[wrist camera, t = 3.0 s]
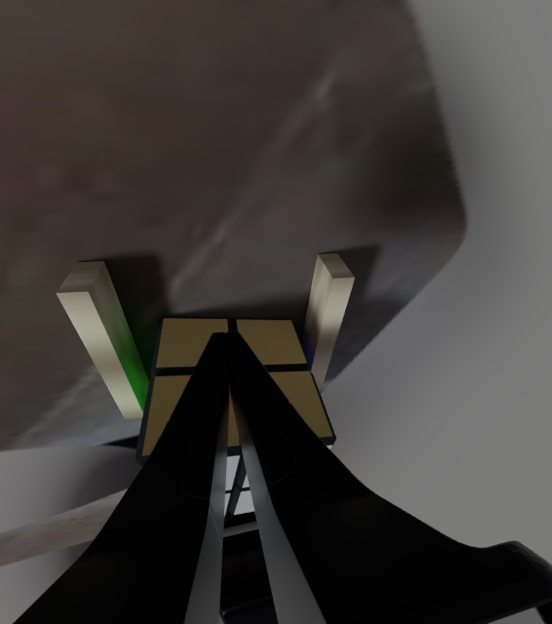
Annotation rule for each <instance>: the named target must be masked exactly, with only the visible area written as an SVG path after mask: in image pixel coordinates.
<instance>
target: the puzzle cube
mask: <svg viewBox="0 0 552 624" xmlns="http://www.w3.org/2000/svg"><path fill="white" fill-rule="evenodd" d="M227 331H238V332H239V333H240V334H241V335H242V337H243V338H244V339H245V341H246V342H247V344H248V345H249V346H250V348H251V349H252V350H253V352H254V353H255V355H256V356H257V357H258V359H259V360H260V361H261V363H262V364H263V365H264V367H265V368H266V370H267V371H268V372H269V374H270V375H271V376H272V378H273V379H274V381H275V382H276V383H277V385H278V386H279V387H280V389H281V390H282V391H283V393H284V394H285V396H286V397H287V398H288V400H289V401H290V402H289V403H291V404H292V405H293V406H294V408H295V409H296V410H297V412H298V413H299V414H300V416H301V417H302V418H303V420H304V421H305V422H306V423H307V425H308V426H309V427H310V428H311V429H312V430H313V432H314V433H315V434H316V435H317V436H318V437H319V438H320V439H321V441H322V442H323V443H324V444H325V445H326V446H327V447H328V448H329V449H331V447H332V446H333V444H334V442H335V440H336V436H335V433H334V431H333V428H332V425H331V422H330V419H329V417H328V414H327V411H326V408H325V406H324V403H323V400H322V397H321V395H320V392H319V389H318V386H317V384H316V381H315V378H314V375H313V374H312V373H311V372H310V371H309V368H310V364H309V361H308V359H307V356H306V353H305V350H304V348H303V345H302V342H301V340H300V337H299V334H298V332H297V329H296V326H295V323H294V322H293V321H292V320H243V319H236V320H234V321H233V322H232V323H231V322H230V321H229V320H228V319H184V318H163V319H162V320H161V321H159V325H158V331H157V337H156V343H155V349H154V354H153V360H152V366H151V379H150V380H149V384H148V390H147V396H146V401H145V407H144V412H143V418H142V423H141V429H140V434H139V440H138V446H137V451H136V457H135V463H136V467H137V470H138V473H139V471H140V470H141V468H142V466H143V465H144V463H145V462H146V460H147V458H148V457H149V455H150V453H151V452H152V450H153V448H154V446H155V445H156V443H157V441H158V439H159V437H160V435H161V434H162V432H163V430H164V428H165V426H166V424H167V422H168V420H170V416H171V414H172V412H173V410H174V408H175V406H176V404H177V402H178V400H179V398H180V396H181V394H182V392H183V390H184V388H185V386H186V384H187V382H188V380H189V378H190V376H191V374H192V372H193V370H194V368H195V366H196V365H197V363H198V361H199V359H200V357H201V355H202V353H203V351H204V349H205V347H206V345H207V343H208V341H209V339H210V337H211V335H212V333H214V332H225V334H226V332H227ZM229 388H230V386H229ZM228 511H230V512H231V513H232V514H233V515H237V514H242V513H248V512H254V511H255V510H254V505H253V501H252V496H251V491H250V486H249V482H248V477H247V472H246V468H245V463H244V458H243V453H242V449H241V444H240V439H239V434H238V430H237V425H236V420H235V416H234V411H233V406H232V401H231V396H230V408H229V428H228V448H227V468H226V488H225V508H224V517H225V515H226V514H227V513H228Z"/></svg>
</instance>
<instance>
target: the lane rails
mask: <svg viewBox="0 0 552 624" xmlns="http://www.w3.org/2000/svg"><path fill="white" fill-rule="evenodd" d="M354 280H355V277H354V275H353V274H352V273H351V271H350V270H349V268H348V267H347V266H346V264H345V263H344V262H343V260H342V259H341V258H340V256H339V255H338V254H337V253H329V254H317V260H316V265H315V271H314V276H313V281H312V287H311V292H310V298H309V303H308V309H307V314H306V320H305V325H304V330H303V336H302V341H301V342H302V345H303V348H304V350H305V353H306V356H307V359H308V361H309V364H310V368H309V371H310V372H311V373H312V374H313V375H314V378H315V381H316V384H317V386H318V389H319V392H320V393H321V390H322V387H323V383H324V380H325V377H326V373H327V370H328V366H329V363H330V360H331V356H332V353H333V350H334V346H335V343H336V340H337V336H338V333H339V330H340V326H341V323H342V320H343V316H344V313H345V310H346V306H347V303H348V300H349V296H350V293H351V290H352V286H353V283H354ZM56 294H57V296H58V298H59V299H60V301H61V303H62V305H63V307H64V309H65V310H66V312H67V314H68V316H69V318H70V320H71V321H72V323H73V325H74V327H75V329H76V330H77V332H78V334H79V336H80V338H81V340H82V341H83V343H84V345H85V347H86V349H87V351H88V352H89V354H90V356H91V358H92V360H93V362H94V363H95V365H96V367H97V369H98V371H99V373H100V374H101V376H102V378H103V380H104V382H105V383H106V385H107V387H108V389H109V391H110V393H111V394H112V396H113V398H114V400H115V402H116V404H117V405H118V407H119V409H120V411H121V413H122V415H123V416H124V418H125V420H127V419H134V418H142V417H143V412H144V407H145V401H146V396H147V390H148V384H149V380H148V377H147V374H146V372H145V369H144V366H143V364H142V361H141V358H140V356H139V353H138V350H137V348H136V345H135V342H134V339H133V337H132V334H131V331H130V329H129V326H128V323H127V321H126V318H125V315H124V313H123V310H122V307H121V305H120V302H119V299H118V297H117V294H116V291H115V289H114V286H113V283H112V281H111V278H110V275H109V273H108V270H107V267H106V265H105V262H104V261H97V262H77V263H76V265H75V266H74V268H73V269H72V271H71V272H70V274H69V275H68V276H67V278H66V279H65V281H64V282H63V284H62V285H61V287H60V288H59V290H58V291H57V293H56Z"/></svg>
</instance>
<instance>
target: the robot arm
mask: <svg viewBox="0 0 552 624" xmlns="http://www.w3.org/2000/svg"><path fill="white" fill-rule="evenodd" d="M229 386H230V388H229ZM230 396H231V401H232V406H233V411H234V416H235V420H236V425H237V430H238V434H239V439H240V444H241V449H242V453H243V458H244V463H245V468H246V472H247V477H248V482H249V486H250V491H251V496H252V501H253V505H254V510H255V511H254V512H248V513H242V514H237V515H233V514H232V513H231V512H230V511H228V513H227V514H226V515H225V517H224V508H225V488H226V468H227V448H228V428H229V408H230ZM289 402H290V401H289V400H288V398H287V397H286V396H285V394H284V393H283V391H282V390H281V389H280V387H279V386H278V385H277V383H276V382H275V381H274V379H273V378H272V376H271V375H270V374H269V372H268V371H267V370H266V368H265V367H264V365H263V364H262V363H261V361H260V360H259V359H258V357H257V356H256V355H255V353H254V352H253V350H252V349H251V348H250V346H249V345H248V344H247V342H246V341H245V339H244V338H243V337H242V335H241V334H240V333H239V332H238V331H227V332H226V334H225V332H214V333H212V335H211V337H210V339H209V341H208V343H207V345H206V347H205V349H204V351H203V353H202V355H201V357H200V359H199V361H198V363H197V365H196V366H195V368H194V370H193V372H192V374H191V376H190V378H189V380H188V382H187V384H186V386H185V388H184V390H183V392H182V394H181V396H180V398H179V400H178V402H177V404H176V406H175V408H174V410H173V412H172V414H171V416H170V420H168V422H167V424H166V426H165V428H164V430H163V432H162V434H161V435H160V437H159V439H158V441H157V443H156V445H155V446H154V448H153V450H152V452H151V453H150V455H149V457H148V458H147V460H146V462H145V463H144V465H143V466H142V468H141V470H140V471H139V473H138V474H137V476H136V478H135V479H134V480H133V482H132V484H131V485H130V487H129V488H128V490H127V491H126V493H125V494H124V496H123V497H122V499H121V500H120V502H119V504H118V505H117V507H116V508H115V510H114V511H113V513H112V514H111V516H110V517H109V519H108V520H107V522H106V523H105V525H104V526H103V528H102V529H101V531H100V532H99V534H98V535H97V536H96V538H95V539H94V540H93V542H92V543H91V544H90V546H89V547H88V548H87V549H86V551H85V552H84V553H83V554H82V555H81V556H80V557H79V558H78V559H77V561H75V562H74V564H72V566H71V567H69V569H67V570H66V571H65V572H64V573H63V574H62V575H61V576H60V577H59V578H58V579H57V580H56V581H55V582H54V583H53V584H52V585H51V586H50V587H49V588H48V589H47V590H46V591H45V592H44V593H43V594H42V595H41V596H40V597H39V598H38V599H37V600H36V601H35V602H34V603H33V604H32V605H31V606H30V607H29V608H28V609H27V610H26V611H25V612H24V613H23V614H22V615H21V616H20V617H19V618H18V619H17V620H16V621H15V622H14V623H13V624H219V623H220V624H552V565H551V564H550V563H548V562H547V561H546V560H545V559H543V558H542V557H540V556H539V555H537V554H536V553H534V552H533V551H532V550H530V549H529V548H527V547H526V546H524V545H523V544H521V543H520V542H518V541H508V542H504V543H501V544H497V545H494V546H490V547H486V548H478V547H472V546H468V545H465V544H463V543H460V542H457V541H456V540H453V539H452V538H450V537H448V536H446V535H444V534H442V533H441V532H439V531H438V530H436V529H434V528H433V527H431V526H429V525H428V524H426V523H424V522H422V521H421V520H419V519H417V518H416V517H414V516H412V515H411V514H409V513H407V512H406V511H404V510H402V509H401V508H399V507H397V506H395V505H393V504H392V503H390V502H389V501H387V500H385V499H384V498H382V497H380V496H378V495H377V494H375V493H374V492H373V491H371V490H370V489H369V488H367V487H366V486H365V485H364V484H363V483H362V482H360V481H359V480H358V479H357V478H356V477H355V476H354V475H353V474H352V473H351V472H350V470H349V469H348V468H347V467H346V466H345V465H344V464H343V463H342V462H341V461H340V460H339V459H338V458H337V457H336V456H335V455H334V453H332V451H331V450H330V449H329V448H328V447H327V446H326V445H325V444H324V443H323V442H322V441H321V439H320V438H319V437H318V436H317V435H316V434H315V433H314V432H313V430H312V429H311V428H310V427H309V426H308V425H307V423H306V422H305V421H304V420H303V418H302V417H301V416H300V414H299V413H298V412H297V410H296V409H295V408H294V406H293V405H292V404H291V403H289Z"/></svg>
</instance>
